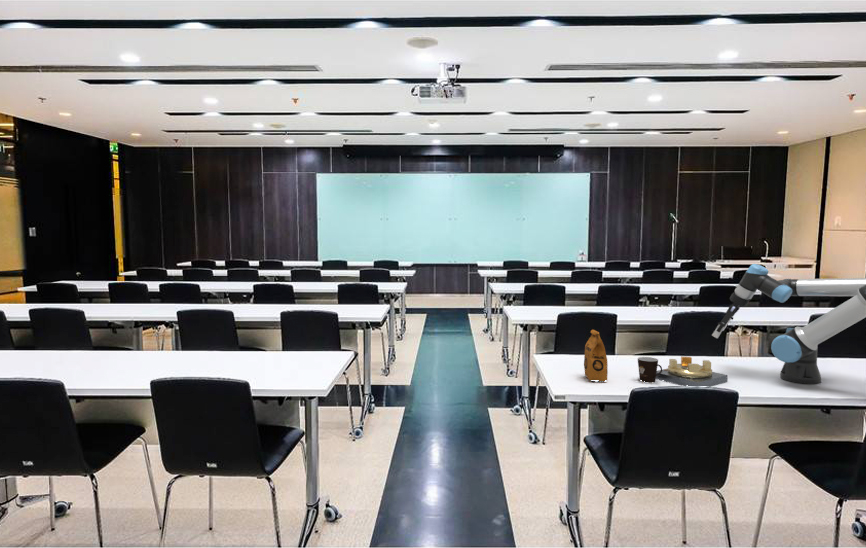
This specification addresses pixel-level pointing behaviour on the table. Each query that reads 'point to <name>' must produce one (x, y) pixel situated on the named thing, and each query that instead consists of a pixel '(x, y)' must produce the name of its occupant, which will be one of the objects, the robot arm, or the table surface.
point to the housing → (692, 379)
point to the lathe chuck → (690, 368)
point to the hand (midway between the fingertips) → (717, 333)
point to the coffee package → (595, 358)
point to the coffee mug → (648, 368)
